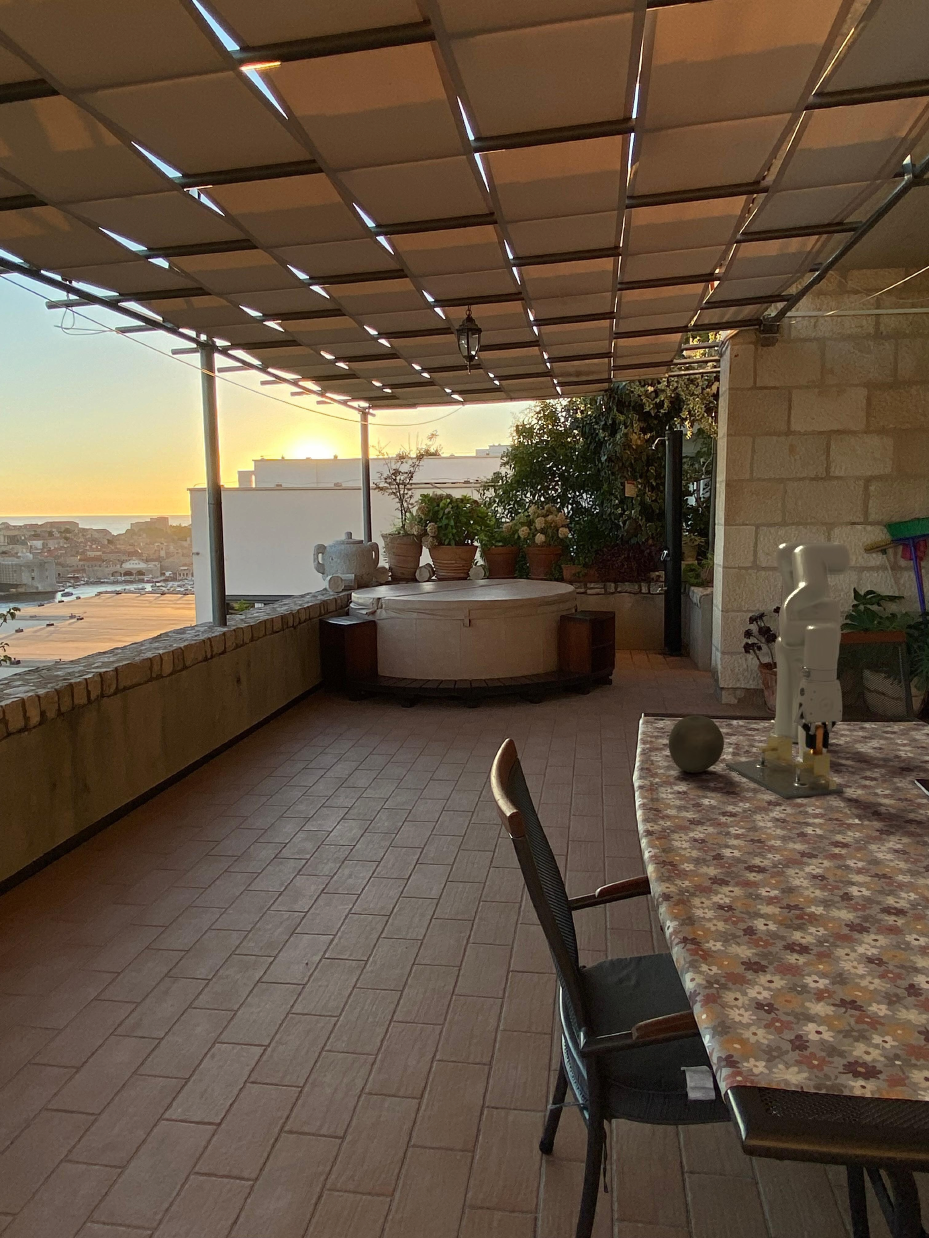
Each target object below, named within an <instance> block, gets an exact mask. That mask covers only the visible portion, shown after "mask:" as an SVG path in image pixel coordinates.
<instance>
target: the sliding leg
mask: <svg viewBox="0 0 929 1238" xmlns="http://www.w3.org/2000/svg"><path fill="white" fill-rule="evenodd" d="M814 734H816V735H817V737H816V749H815V750H812V749H811V750H809V751H803V759H802V761H799V762H798V761H797V762H796V763H794V767H795V768H797V771H796V781H797V782H800V770H801V768H803V770H802V771H805V772H807V773H809V774H811V775H813V776H816V775H825V776H827V775H830V768H831V753H828V752H826V753H825V752H823V736H824V725H822V724H815V732H814Z"/></svg>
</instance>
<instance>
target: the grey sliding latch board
mask: <svg viewBox="0 0 929 1238" xmlns="http://www.w3.org/2000/svg"><path fill="white" fill-rule="evenodd" d="M793 743H794V742H793V740H791V739H788V738H786V737H783V736H777V737H771V736H770V737H769V736H768V737H767V746H758V752H760V753H761V755H760V756H761V757H760V759H756V760H747V761H746V760H745V761H736V762H735V761H733V762H726V763H724V764H725V765H724V766H726V767H729V768H730V769H732V770H734V771H736V772H738V773H739V774H738V773H737V774H738V775H740V774H741V775H740V776H742V775H743V776H742V777H744V776H745V777H746V778H745V777H744V778H745V779H747V778H748V780H749V779H750V780H749V781H751V780H752V781H751V782H753V783H755V784H757V785H759V786H761V787H763V788H765V789H767V790H768V791H770V792H773V793H774V794H776V795H778V796H780V797H781V798H784V799H792V798H793V799H794V798H802V797H810V796H811V797H812V796H819V795H821V796H822V795H828V794H829V795H830V794H836V793H838V794H839V793H844V787H842V786H839V785H838V784H837V780H836V779H833V778H831V777H829V776H827V775H816V776H813V775H811V774H809V773H807V772H805V771H802V770H803V768H801V770H800V782H797V781H796V771H797V768H795V767H794V763H797V762H795V761H793V760H792V759H793ZM726 767H725V768H726ZM730 769H729V770H730ZM732 770H731V771H732ZM734 771H733V772H734ZM736 772H735V773H736Z"/></svg>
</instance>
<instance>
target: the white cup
mask: <svg viewBox="0 0 929 1238" xmlns="http://www.w3.org/2000/svg"><path fill="white" fill-rule="evenodd" d="M803 722H804V720H803ZM816 724H820V722H819V723H816ZM809 726H810V724H809ZM805 737H806V732H804V730H803V729H802V728H801V726H799V725H798V740H799V742H798V748H799V749H798V757H799V759H801V760H803V751H809V750H811V749H809V748H807V747H806V744H805ZM827 750H828V749H825V748H823V752H825V753H827Z"/></svg>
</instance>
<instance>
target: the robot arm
mask: <svg viewBox="0 0 929 1238" xmlns="http://www.w3.org/2000/svg"><path fill="white" fill-rule="evenodd" d="M775 560H776V565H777V566H776V567H777V569H778V571H779V574H780V577H781V581H782V596H781V597H782V599H781V600H782V601H781V602H782V603H781V607H780V609H779V614H778V627H779V636H778V637H777V638H776V640H775V643H774V651H775V660H776V661H775V662H776V701H775V703H776V704H775V706H776V707H775V718H774V720H773V719H771V720H770V724H771V725H773V729H772V730H770V731H769V736H770V737H777V736H783V737H786V738H788V739H791V740H793V743H799V740H798V725H799V726H801V728H802V729H803V730H804V732H806V737H805V744H806V747H807V748H809V749H812V750H815V749H816V737H817V735H816V734H814V732H815V724H816V723H819V722H820V724H822V725H824V736H823V748H825V749H827V750H828V749H829V743H830V733H833V728H834V727H835V726H836V725H837V724H839V723H840V722H841V721H843V718H842V717H843V701H842V700H843V697H842V696H843V695H842V688H841V684H840V680H839V679H837V672H838V670H837V669H838V659H839V654H840V643H841V639H842V629H841V621H842V620H841V607H840V604H839V602H838V601H837V600H836V599H834V598H831V597H828V596H829V594H830V585H829V579H828V578H829V577H828V576H844V575H847V573H848V571H849V569H850V566H851V556H850V552H849V549H848V548H847V546H846V544H844V543H841V542H838V541H789V542H784V543H781V544H779V545H778V546H777V547H776V550H775ZM803 720H804V722H803ZM809 724H810V726H809Z"/></svg>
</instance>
